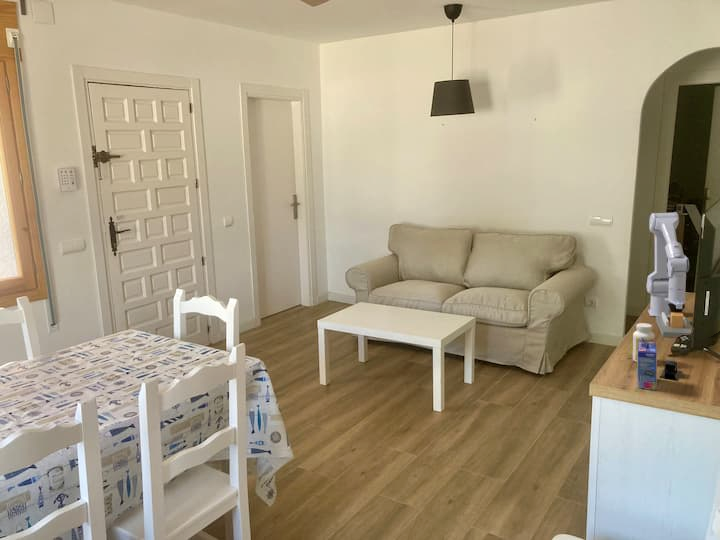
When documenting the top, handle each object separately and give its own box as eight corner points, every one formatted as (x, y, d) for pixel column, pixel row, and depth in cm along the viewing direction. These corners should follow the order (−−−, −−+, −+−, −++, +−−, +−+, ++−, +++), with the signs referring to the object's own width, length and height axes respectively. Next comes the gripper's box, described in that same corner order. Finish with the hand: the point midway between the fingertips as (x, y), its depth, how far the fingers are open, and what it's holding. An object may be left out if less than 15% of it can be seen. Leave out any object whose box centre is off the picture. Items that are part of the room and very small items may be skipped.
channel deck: (655, 320, 237) (656, 311, 237) (685, 321, 234) (686, 312, 233) (663, 337, 217) (663, 327, 217) (696, 338, 213) (696, 328, 213)
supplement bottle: (657, 364, 192) (659, 327, 189) (637, 365, 192) (638, 328, 189) (648, 357, 198) (649, 321, 196) (629, 358, 198) (629, 322, 196)
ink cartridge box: (636, 376, 183) (637, 333, 180) (655, 378, 180) (657, 334, 178) (636, 388, 174) (637, 343, 171) (657, 390, 172) (658, 344, 169)
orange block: (670, 323, 225) (670, 311, 224) (681, 324, 223) (682, 312, 222) (671, 327, 221) (671, 315, 220) (683, 328, 220) (683, 315, 219)
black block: (679, 385, 176) (680, 371, 175) (653, 380, 180) (654, 367, 179) (686, 371, 185) (687, 358, 184) (661, 368, 190) (662, 354, 189)
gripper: (662, 283, 230) (661, 316, 232) (668, 292, 216) (666, 326, 219) (682, 284, 227) (681, 316, 230) (689, 292, 214) (687, 327, 217)
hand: (675, 321), depth 224 cm, fingers closed, pressing on orange block
